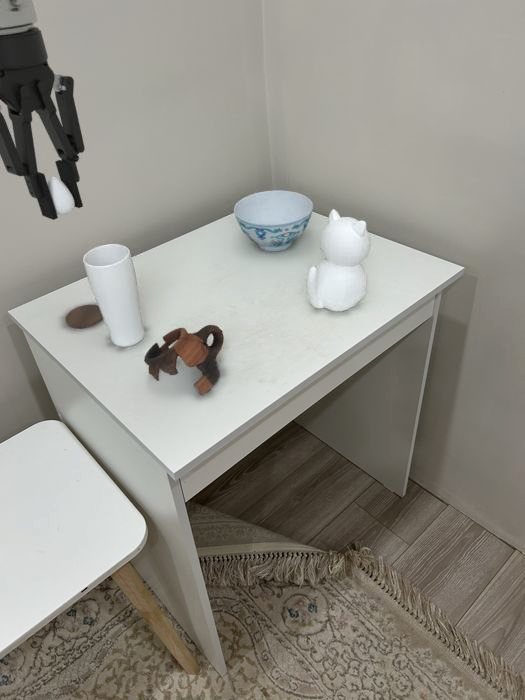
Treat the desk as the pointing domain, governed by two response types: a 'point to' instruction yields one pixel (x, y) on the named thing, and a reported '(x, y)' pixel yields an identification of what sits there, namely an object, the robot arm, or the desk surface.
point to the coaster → (84, 316)
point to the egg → (60, 196)
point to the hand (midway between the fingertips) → (63, 210)
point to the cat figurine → (340, 265)
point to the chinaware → (273, 217)
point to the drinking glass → (116, 292)
